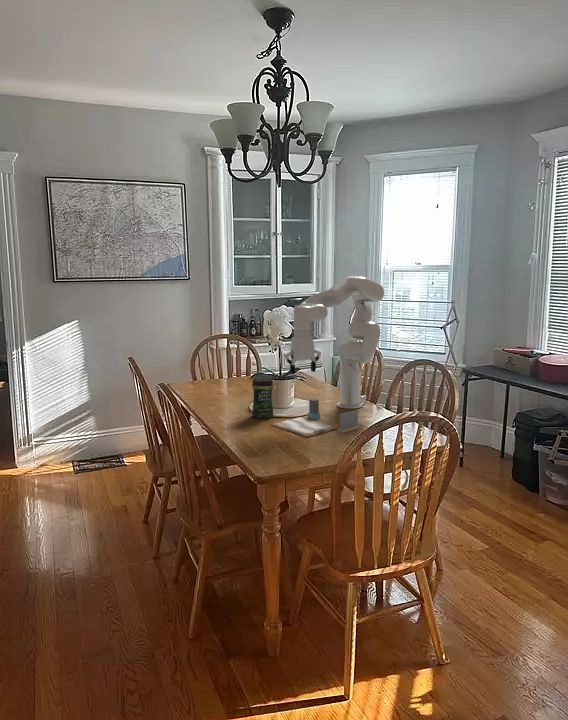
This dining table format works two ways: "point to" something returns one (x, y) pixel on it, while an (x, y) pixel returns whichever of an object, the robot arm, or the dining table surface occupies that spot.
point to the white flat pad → (304, 427)
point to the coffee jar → (262, 397)
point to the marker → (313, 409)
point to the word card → (348, 421)
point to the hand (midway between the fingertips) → (303, 372)
